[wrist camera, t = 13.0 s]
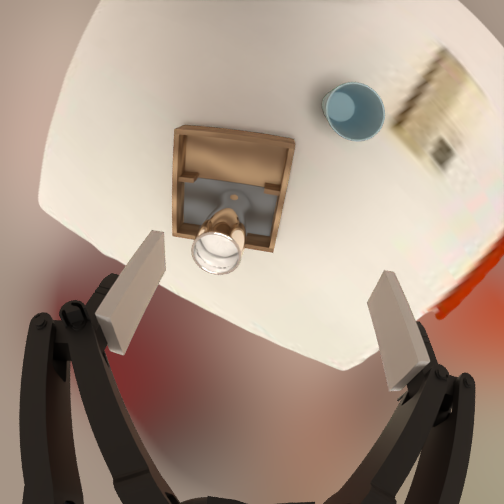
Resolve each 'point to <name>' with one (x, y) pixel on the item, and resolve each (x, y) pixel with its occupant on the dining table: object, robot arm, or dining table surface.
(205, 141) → the caddy
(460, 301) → the dining table surface
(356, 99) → the cup
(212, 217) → the shiny metal cylinder
